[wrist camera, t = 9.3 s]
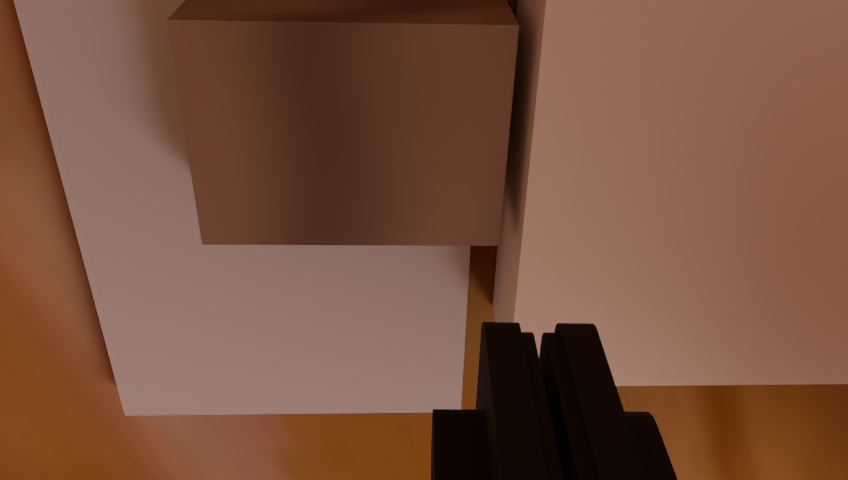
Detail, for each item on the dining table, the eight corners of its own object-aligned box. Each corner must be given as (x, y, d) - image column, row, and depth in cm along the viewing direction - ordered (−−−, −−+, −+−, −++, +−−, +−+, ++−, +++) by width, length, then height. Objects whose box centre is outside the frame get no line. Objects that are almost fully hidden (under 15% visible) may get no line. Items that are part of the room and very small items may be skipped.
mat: (489, -150, 18) (493, -146, 18) (458, 392, 28) (460, 412, 27) (-9, -158, 18) (-29, -155, 17) (133, 395, 27) (124, 415, 27)
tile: (505, -2, 19) (518, 25, 17) (489, 201, 22) (499, 245, 20) (192, -8, 19) (167, 19, 17) (220, 199, 22) (202, 244, 20)
